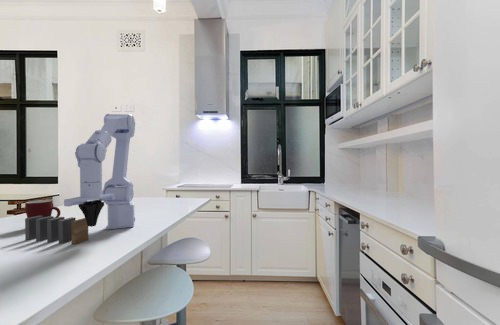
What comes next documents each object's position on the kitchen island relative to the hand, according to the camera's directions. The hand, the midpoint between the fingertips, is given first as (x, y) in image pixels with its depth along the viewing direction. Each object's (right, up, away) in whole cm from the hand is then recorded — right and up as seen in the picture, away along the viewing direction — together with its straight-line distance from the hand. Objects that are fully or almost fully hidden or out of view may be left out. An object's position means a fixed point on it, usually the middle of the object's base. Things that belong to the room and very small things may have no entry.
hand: (91, 225), depth 77 cm
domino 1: (-22, -6, +5) cm, 24 cm away
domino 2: (-18, -5, +4) cm, 19 cm away
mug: (-31, -6, +19) cm, 37 cm away
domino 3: (-14, -5, +3) cm, 15 cm away
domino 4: (-9, -5, +2) cm, 11 cm away
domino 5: (-4, -5, +1) cm, 7 cm away
